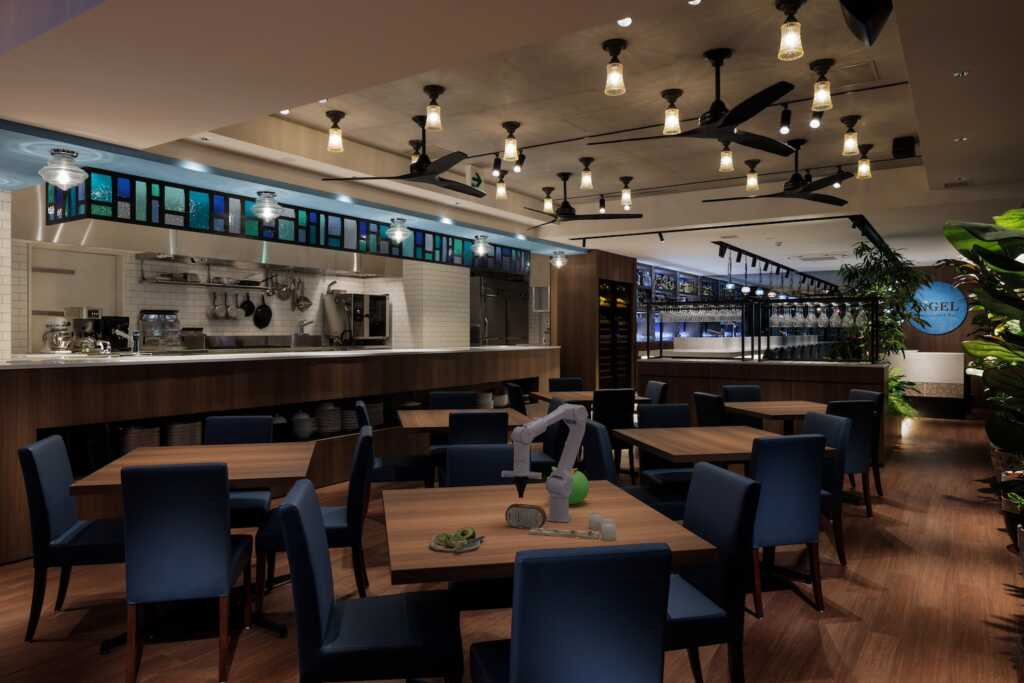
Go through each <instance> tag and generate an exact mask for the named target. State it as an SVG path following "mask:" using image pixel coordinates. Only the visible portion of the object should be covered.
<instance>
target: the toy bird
mask: <svg viewBox="0 0 1024 683" xmlns="http://www.w3.org/2000/svg"><path fill="white" fill-rule="evenodd" d="M556 469H557V467H555V466H552V467H551V471H552V472H553V471H554V470H556ZM571 475H572V477H573V479H574V481H573V490H572V493H571V494H570V497H569V499H568V500H569V505H575V504H579V503H580V502H582V501H584V500H585V499H587V497H588V494H589V492H590V485H589V481H588V478H587V476H586V475H585V474H584V473H583V472H582V471H579V470H578V468H572V471H571ZM549 477H550V476H548V477H546V480H547V479H548V478H549ZM561 479H563V478H561Z"/></svg>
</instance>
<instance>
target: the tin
mask: <svg viewBox="0 0 1024 683" xmlns="http://www.w3.org/2000/svg"><path fill="white" fill-rule="evenodd" d="M504 517H505V521H506V523H507V524H508V525H509V526H510V527H512V528H515V527H522V528H521V529H526V528H543V526H544V525H545V523H546V521H547V513H546V511H545V510H544V509H543V507H542V506H539V505H537V504H526V503H518V502H517V503H512V504H510V505H509V506H508V508H507V509H506V510H505V513H504Z"/></svg>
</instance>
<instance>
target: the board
mask: <svg viewBox="0 0 1024 683" xmlns="http://www.w3.org/2000/svg"><path fill="white" fill-rule="evenodd" d="M528 534H529V535H530V534H538V535H537V536H544V535H550V536H549V537H557V536H566V537H565V538H571V537H579V538H578V539H584V538H587V540H588V539H589V540H599V538H600V532H595V531H593V530H591V531H584V530H583V531H581V530H573V529H570V530H565V529H561V528H560V529H557V528H543V527H541V528H531V529H529V531H528Z"/></svg>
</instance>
